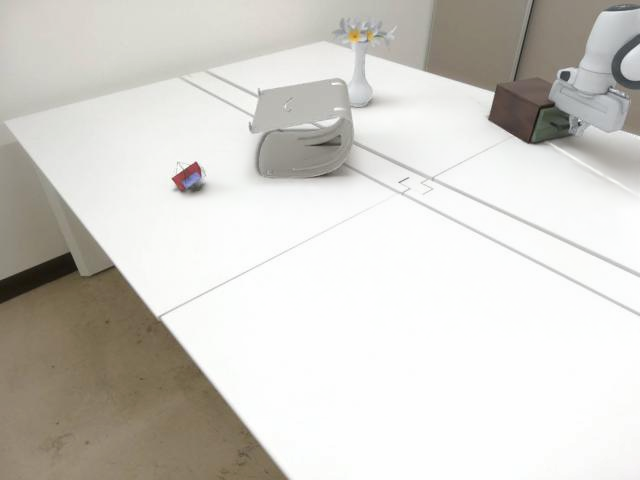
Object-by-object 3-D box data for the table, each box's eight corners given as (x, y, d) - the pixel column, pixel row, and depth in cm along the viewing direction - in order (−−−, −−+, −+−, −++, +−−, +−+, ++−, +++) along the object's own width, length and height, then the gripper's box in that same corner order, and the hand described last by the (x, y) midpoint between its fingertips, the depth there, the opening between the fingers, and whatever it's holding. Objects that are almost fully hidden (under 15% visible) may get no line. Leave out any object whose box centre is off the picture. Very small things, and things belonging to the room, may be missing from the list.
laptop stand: (352, 179, 109) (355, 117, 99) (253, 179, 108) (246, 118, 99) (346, 131, 128) (348, 76, 119) (262, 132, 128) (258, 76, 119)
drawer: (585, 140, 122) (597, 109, 116) (545, 149, 118) (556, 117, 112) (532, 112, 136) (541, 83, 131) (496, 119, 132) (503, 89, 127)
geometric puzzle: (172, 194, 100) (187, 162, 98) (161, 180, 104) (176, 149, 102) (200, 202, 105) (215, 172, 103) (189, 189, 109) (203, 160, 107)
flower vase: (393, 109, 141) (402, 21, 125) (334, 112, 139) (335, 24, 123) (382, 93, 151) (390, 10, 135) (327, 96, 149) (328, 13, 133)
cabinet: (569, 134, 127) (583, 97, 120) (527, 143, 122) (539, 105, 116) (527, 112, 139) (538, 77, 132) (488, 119, 134) (496, 84, 128)
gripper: (643, 93, 101) (618, 149, 110) (572, 65, 116) (554, 117, 124) (622, 97, 99) (598, 154, 108) (553, 68, 114) (536, 120, 123)
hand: (574, 134), depth 116 cm, fingers closed
